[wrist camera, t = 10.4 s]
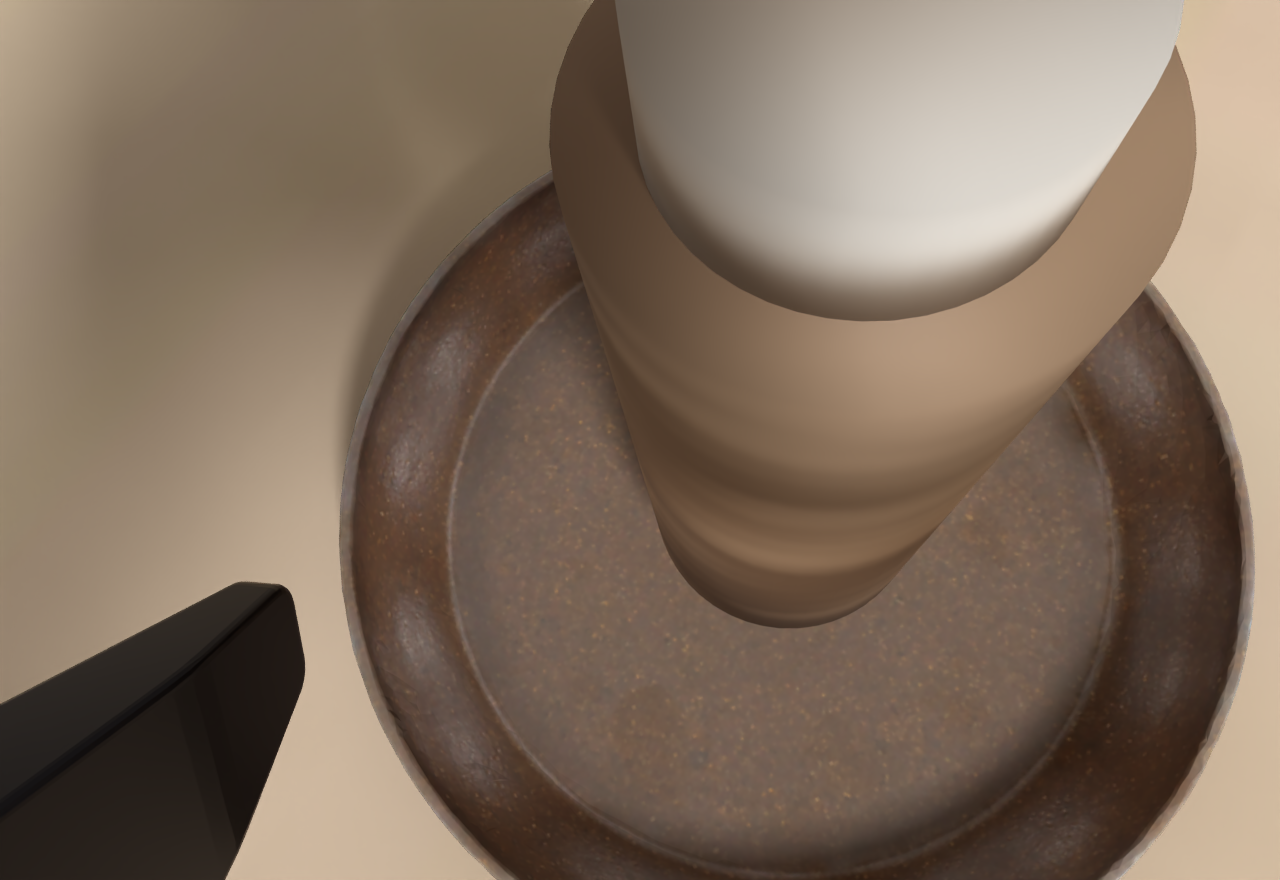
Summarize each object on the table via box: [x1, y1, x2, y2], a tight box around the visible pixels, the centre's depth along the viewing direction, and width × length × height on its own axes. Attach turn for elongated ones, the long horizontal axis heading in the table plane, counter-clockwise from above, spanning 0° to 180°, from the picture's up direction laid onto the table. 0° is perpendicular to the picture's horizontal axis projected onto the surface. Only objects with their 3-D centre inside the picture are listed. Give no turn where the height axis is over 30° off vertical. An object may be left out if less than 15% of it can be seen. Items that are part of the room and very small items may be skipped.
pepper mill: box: [549, 0, 1196, 628], centre depth 13 cm, size 5×5×14 cm
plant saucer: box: [339, 170, 1255, 880], centre depth 21 cm, size 18×18×3 cm
